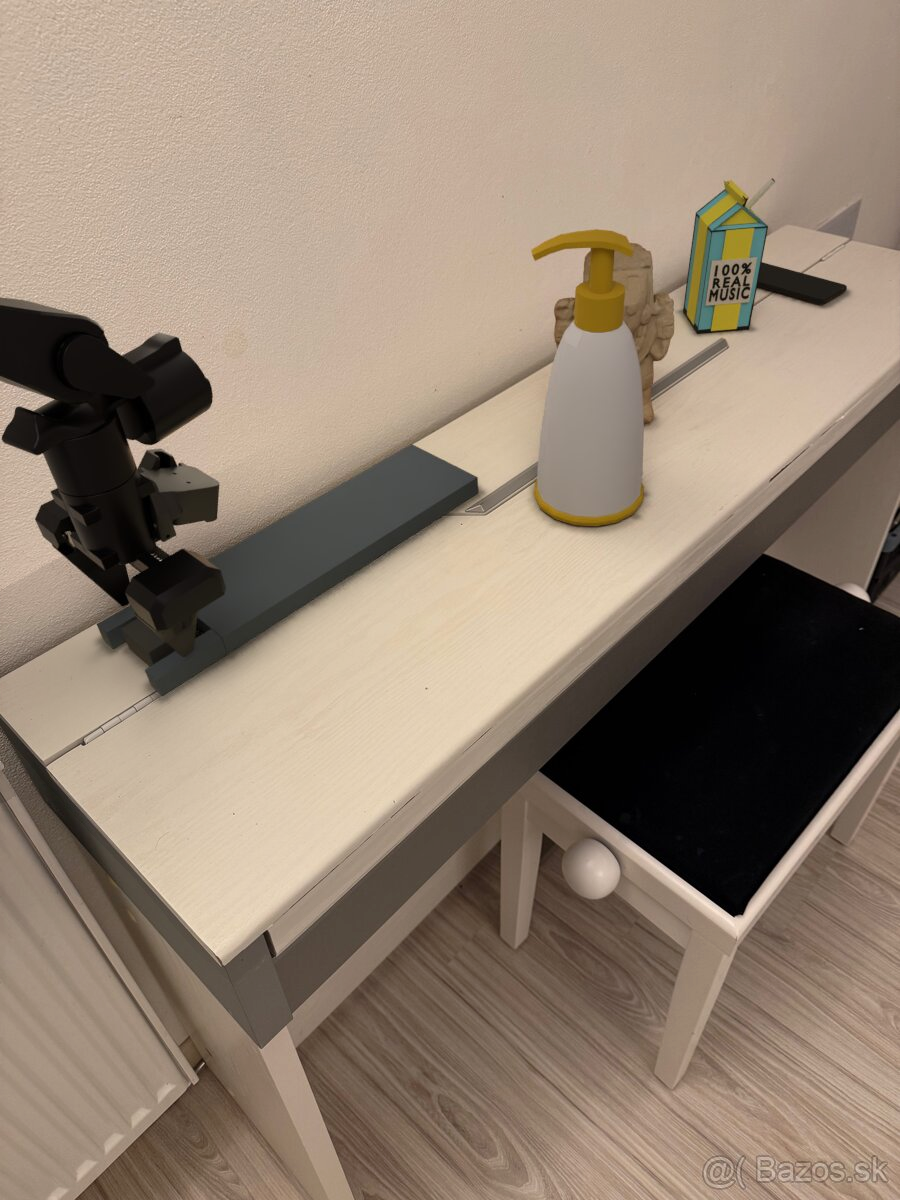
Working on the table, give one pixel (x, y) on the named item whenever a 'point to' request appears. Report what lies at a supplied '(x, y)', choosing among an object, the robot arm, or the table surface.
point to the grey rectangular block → (310, 555)
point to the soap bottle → (592, 398)
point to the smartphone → (798, 284)
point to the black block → (146, 642)
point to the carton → (725, 262)
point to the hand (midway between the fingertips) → (156, 627)
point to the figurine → (633, 314)
